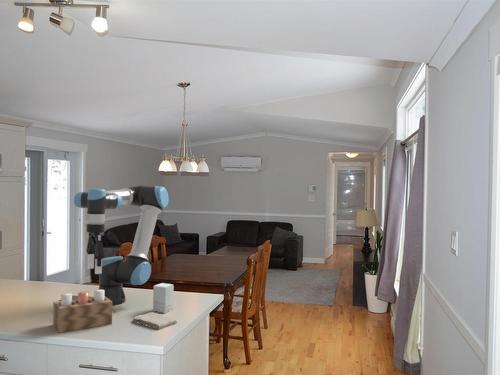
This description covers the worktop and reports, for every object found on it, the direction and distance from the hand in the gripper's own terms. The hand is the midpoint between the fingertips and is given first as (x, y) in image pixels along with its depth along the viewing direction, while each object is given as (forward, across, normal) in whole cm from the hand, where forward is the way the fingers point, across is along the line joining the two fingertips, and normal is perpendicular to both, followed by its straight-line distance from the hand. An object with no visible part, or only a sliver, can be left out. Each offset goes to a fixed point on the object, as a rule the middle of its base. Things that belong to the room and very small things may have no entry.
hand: (94, 271), depth 203 cm
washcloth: (+24, +12, +24) cm, 36 cm away
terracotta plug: (+18, +1, -4) cm, 19 cm away
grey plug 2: (+18, 0, +3) cm, 18 cm away
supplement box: (+23, -3, +35) cm, 41 cm away
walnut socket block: (+23, 0, -4) cm, 23 cm away
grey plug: (+18, +1, -11) cm, 21 cm away
